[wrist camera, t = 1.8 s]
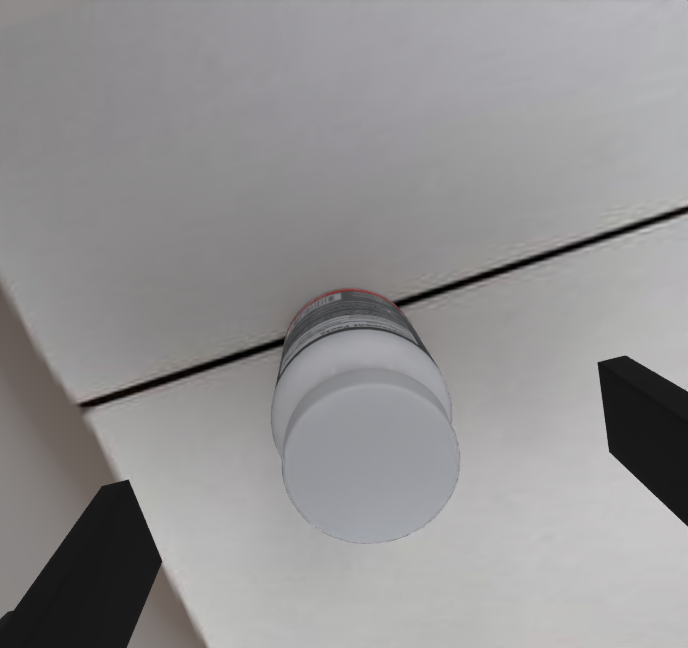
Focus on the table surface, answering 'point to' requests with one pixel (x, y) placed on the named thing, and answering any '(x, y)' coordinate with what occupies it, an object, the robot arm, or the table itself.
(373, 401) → the pill bottle
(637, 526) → the table surface
